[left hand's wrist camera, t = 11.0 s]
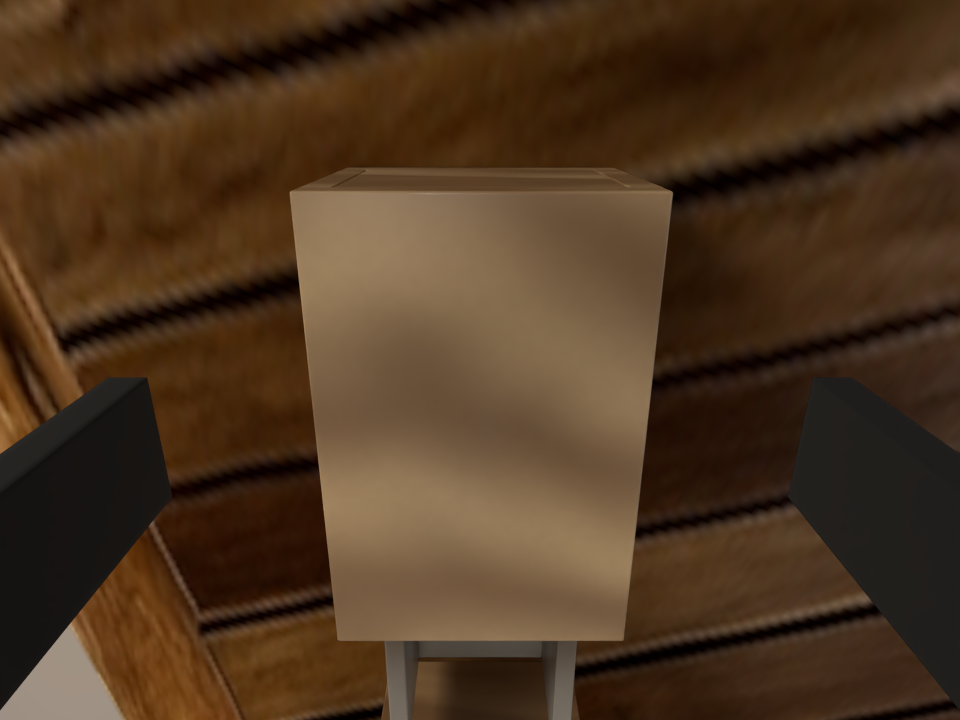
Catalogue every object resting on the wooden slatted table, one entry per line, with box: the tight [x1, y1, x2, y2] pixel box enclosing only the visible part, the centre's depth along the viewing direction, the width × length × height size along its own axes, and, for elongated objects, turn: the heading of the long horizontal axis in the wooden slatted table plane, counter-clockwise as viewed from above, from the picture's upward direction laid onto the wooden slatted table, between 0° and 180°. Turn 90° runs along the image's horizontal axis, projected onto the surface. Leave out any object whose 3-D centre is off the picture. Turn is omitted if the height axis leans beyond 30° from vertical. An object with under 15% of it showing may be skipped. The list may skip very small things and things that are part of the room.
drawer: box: [381, 641, 579, 720], centre depth 29 cm, size 20×10×6 cm, turn 0°
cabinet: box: [290, 168, 673, 641], centre depth 24 cm, size 16×11×8 cm, turn 0°
